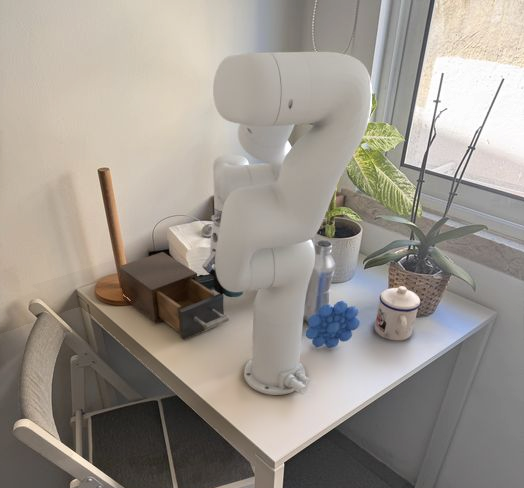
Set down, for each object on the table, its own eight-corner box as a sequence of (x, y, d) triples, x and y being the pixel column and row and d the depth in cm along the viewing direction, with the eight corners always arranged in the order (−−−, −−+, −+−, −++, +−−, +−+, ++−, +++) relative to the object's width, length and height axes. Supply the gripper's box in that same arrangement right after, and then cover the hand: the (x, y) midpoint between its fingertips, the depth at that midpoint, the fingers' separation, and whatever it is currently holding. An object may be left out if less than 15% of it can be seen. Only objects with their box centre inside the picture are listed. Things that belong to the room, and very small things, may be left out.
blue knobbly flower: (351, 336, 118) (359, 291, 111) (357, 353, 113) (365, 307, 106) (301, 336, 118) (306, 291, 110) (305, 354, 112) (310, 307, 105)
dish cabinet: (198, 305, 127) (197, 273, 121) (155, 323, 120) (151, 289, 114) (165, 283, 135) (162, 251, 130) (123, 298, 128) (118, 266, 123)
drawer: (238, 331, 117) (238, 304, 112) (197, 350, 110) (196, 322, 106) (189, 298, 127) (188, 272, 123) (150, 314, 121) (147, 287, 117)
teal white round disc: (254, 293, 123) (254, 283, 121) (231, 303, 119) (231, 292, 117) (235, 282, 127) (234, 273, 125) (212, 291, 123) (211, 281, 121)
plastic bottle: (328, 313, 126) (338, 238, 114) (328, 329, 120) (338, 251, 108) (302, 311, 126) (309, 236, 114) (301, 326, 121) (308, 249, 109)
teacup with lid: (370, 319, 124) (379, 277, 117) (408, 321, 124) (418, 278, 117) (378, 348, 115) (387, 304, 108) (418, 350, 115) (430, 306, 108)
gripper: (210, 230, 105) (213, 304, 115) (272, 211, 115) (269, 281, 125) (189, 219, 109) (193, 292, 119) (250, 202, 119) (249, 271, 129)
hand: (232, 286), depth 122 cm, fingers closed on teal white round disc, 7 cm apart
